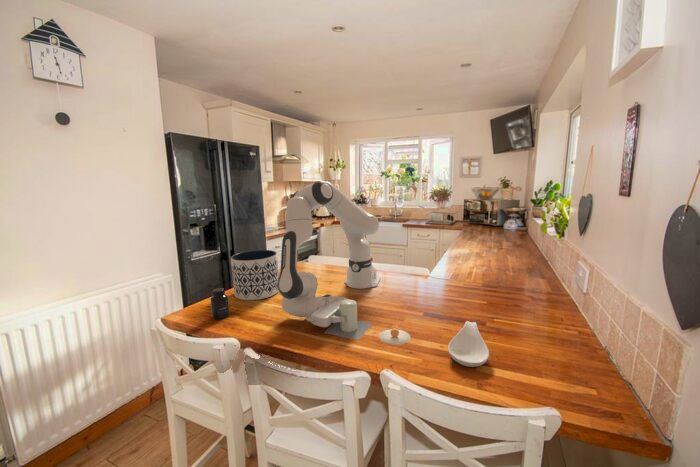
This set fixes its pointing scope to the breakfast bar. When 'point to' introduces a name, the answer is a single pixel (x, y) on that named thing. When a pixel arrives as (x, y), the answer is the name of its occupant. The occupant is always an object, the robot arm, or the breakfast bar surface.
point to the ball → (394, 332)
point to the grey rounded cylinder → (348, 315)
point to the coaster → (391, 340)
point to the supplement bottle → (219, 304)
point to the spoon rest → (469, 346)
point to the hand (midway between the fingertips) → (350, 314)
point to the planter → (255, 274)
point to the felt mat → (355, 334)
